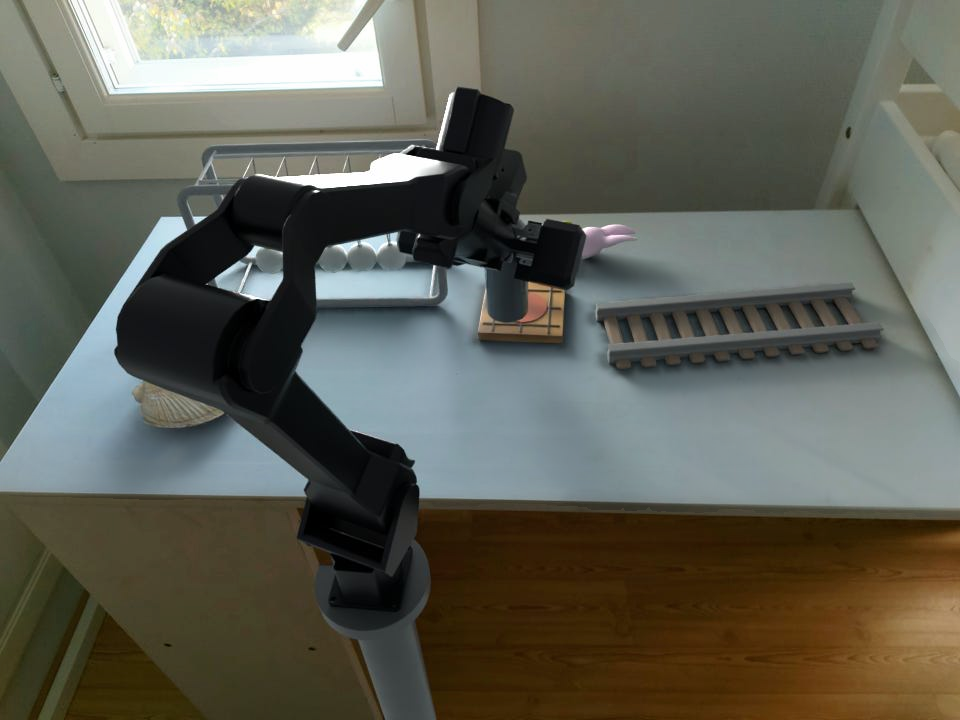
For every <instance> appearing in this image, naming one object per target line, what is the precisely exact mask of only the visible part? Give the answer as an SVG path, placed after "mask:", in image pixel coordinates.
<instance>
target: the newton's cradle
mask: <svg viewBox="0 0 960 720" xmlns="http://www.w3.org/2000/svg"><path fill="white" fill-rule="evenodd" d="M411 145H414V146H420V147H426V148H432V149H437V145H438V142H436V141H433V140H431V139H427V138H426V139H425V138H420V139H419V138H418V139H383V140H382V139H381V140H379V139H378V140H347V141H344V140H343V141H342V140H341V141H307V142H306V141H305V142H275V143H274V142H272V143H270V142H269V143H268V142H267V143H235V144H233V143H232V144H229V143H228V144H213V145H210V146H208V147H206V148H205V149H204V151H203V152H202V154H201V165H202V167H203V169H202V171H201V172H200V174H199V176H198V178H197V180H196V182H195V183H194V185H188V186H185V187H183V188H181V189H180V190H179V192H178V193H177V196H176V202H177V207H178V209H179V212H180V215H181V217H182V220H183V224H184V226H185V228H186V231H187V230H188V229H190V228H191V227H193V226H194V225H195V224H196V222H195V219H194V216H193V212H192V210H191V208H190V205H189V202H188V199H189V198H190V197H192V196H193V197H194V196H212V197H213V201H214V204H215V206H216V209H217V208H218V207H219V205H220V204H221V202H222V201H223V199H224V196H226V194H227V193H228V191H229V190H230V188H231V187H232V186H233V185H234V184H235V183H236V182H237V181H238V179H239V178H221V179H220V178H217V175H216V172H215V168H214V165H213V161H214V160H223V159H225V160H226V159H251V160H250V162H249V163H248V166H247V168H246V170H245V172H244V174H243V176H242V178H244V177H246V176H245V175H246V173H247V172H248V169H249V168H250V165H251V164H252V166H253V171H254V175H256V174H257V170H256V164H255V159H260V158H263V159H264V158H265V159H266V158H282V160H281V163H280V165H279V167H278V169H277V172H276V174H275V176H274V177H276V178H277V176H278V174H279V172H280V169H281V168H282V165H283V162H284V166H285V171H286V177H290V176H289V172H288V171H289V170H288V165H287V160H286V158H299V157H300V158H301V157H302V158H303V157H314V160H313V163H312V165H311V168H310V170H309V172H308V176H311V173H312V170H313V167H314V164H315V162H316V168H317V175H321V174H320V173H321V172H320V167H319V162H318V157H335V156H337V157H339V156H340V157H341V156H342V157H343V156H347V157H346V160H345V163H344V166H343V169H342V173H341V174H344V172H345V169H346V165H347V163H348V170H349V173H352V169H351V162H350V156H373V155H374V156H377V155H379V156H378V159H381V158H382V155H391V154H395V153H396V154H400V153H401V152H403V151H404V150H405V149H407V148H408V147H410V146H411ZM205 176H206V179H203V178H204V177H205ZM227 183H228V184H227ZM230 183H232V184H230ZM386 238H387V242H384V243H383V244H381V245H380V247H379V248H378V250H377V252H376V250H375V248H374V246H372V245H371V244H369V243H367V242H363V241H362V240H358V241H356V243H354V244H353V245H351V246H350V248H349V249H348V251H346V250H345V248H344V247H343V246H342V245H341V244H340V245H335V246H330V247H326V248H325V250H324V251H323V253H322V255H321V257H320V259H319V260H318V262H317V264H316V266H317V265H319V266H320V267H321V268H322V269H323V270H324V271H325V272H328V273H338V272H340V271H341V270H343V269H344V268H345V266H346V265H347V264H349V266H350V267H351V268H352V269H353V270H354V271H356V272H360V273H365V272H368V271H370V270H372V269H373V268H374V267H375V265H376V264H377V263H378V265H379V266H380V268H382V269H384V270H385V271H387V272H396V271H399V270H401V269H402V268H403V267H404V266H405V264H406V263H418V262H417V261H414V260H413V256H408V255H405V254H403V253H401V252H399V249H398V247H397V242H396V241H392V240H391V234H387V235H386ZM239 263H242V264H244V265H247V268H246V270H245V271H244V272H245V273H244V275H243V277H242V280H241V282H240V284H239V286H238V289H237V290H236V292H238V293H242V290H243V288H244V285H245V284H246V283H245V282H246V280H247V278H248V276H249V273H250V270H251V268H252V266H257V267H258V268H259V269H260V270H261V271H262V272H263V273H266V274H276V273H278V272H280V271H282V270H283V252H279V251H275V250H271V249H267V248H262V247H259V248H258V249H257V250H256V254H255V256H250V255H247V256H245V257H244V258H243V259H241V260H240V261H239ZM432 267H433V268H432V272H431V282H430V288H429V296H423V297H422V296H411V297H407V296H406V297H404V296H403V297H402V296H401V297H350V298H349V297H348V298H347V297H344V298H340V297H339V298H338V297H337V298H316V301H317V309H320V308H323V309H324V308H381V307H383V308H384V307H385V308H387V307H433V306H437V305H440V304H442V303H443V302H444V301H445V300H446V299H447V297H448V293H449V288H448V287H449V286H448V277H447V268H444V267H439V266H435V265H432ZM436 276H437V277H436ZM436 278H437V287H438V293H437V294H436V295H434V288H435V280H436ZM207 285H211V286H214V287H218V288H220V287H219V284H218V282H217V279H216V277H215V278H214V279H213V280H211V281H210V282H208V283H207ZM267 300H268V301H271V299H267Z"/></svg>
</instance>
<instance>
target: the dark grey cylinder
mask: <svg viewBox="0 0 960 720" xmlns="http://www.w3.org/2000/svg"><path fill="white" fill-rule="evenodd" d="M525 225H526V224H525V222H524V221H523V220H522V219H521V218H520V217H519V220H518V224H517V225H515V224H512V227H516V228H523V227H524V226H525ZM523 238H524V237H523ZM514 239H516V240H521V239H520V237H519V238H518V239H517V238H516V236H515V238H514ZM511 253H514V258H513V261H512V263H507V262H503V263H502V267H501V271H496V270H492V269H487V268H484V283H485V289H486V306H487V313H488V315H489V316H490V317H491V318H492V319H494V320H496V321H498V322H503V323H510V322H516V321H518V320H521V319H522V318H524V317H525V316H526V314H527V313H528V282H527V281H522V280H518V279H514V275H515V271H516V267H517V263H518V259H519V258H518V257H516V255H517V252H515V251H510V255H511Z"/></svg>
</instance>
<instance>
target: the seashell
mask: <svg viewBox="0 0 960 720" xmlns="http://www.w3.org/2000/svg"><path fill="white" fill-rule="evenodd" d="M131 394H132V396H133V398H134V400H135V402H137V403H139V404H140V406H139V407H140V414H141V416H142V421H143V422H144V423H145V424H147V425H149V426H153V427H157V428H164V429H166V428H167V429H183V428H190V427H195V426H199V425H203V424H205V423H207V422H211V421H213V420H215V419H217V418H220V417H221V416H223V415H224V414H225V413H224V412H223V411H221V410H219V409H217V408H214V407H212V406H209V405H206V404H203V403H201V402H198V401H195V400H192V399H190V398H187V397H184V396H182V395H179V394H176V393H173V392H171V391H168V390H165V389H163V388H160V387H158V386H156V385H153V384H151V383H148V382H146V381H143V380H141V382H140V383H139V384H137V385H136V386H135V387H134V389H133V390H132V391H131Z"/></svg>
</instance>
